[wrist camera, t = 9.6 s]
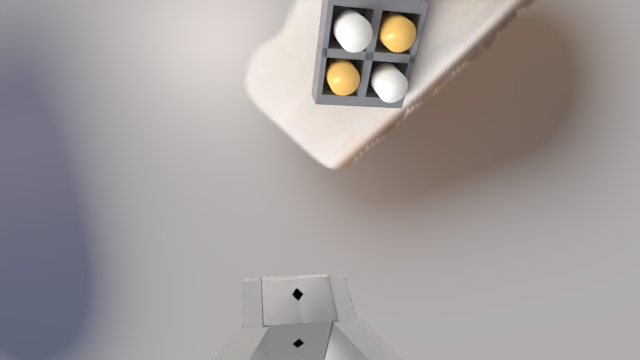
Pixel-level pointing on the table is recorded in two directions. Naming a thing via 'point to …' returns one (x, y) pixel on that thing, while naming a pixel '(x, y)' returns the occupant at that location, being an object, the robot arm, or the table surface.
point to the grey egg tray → (365, 51)
